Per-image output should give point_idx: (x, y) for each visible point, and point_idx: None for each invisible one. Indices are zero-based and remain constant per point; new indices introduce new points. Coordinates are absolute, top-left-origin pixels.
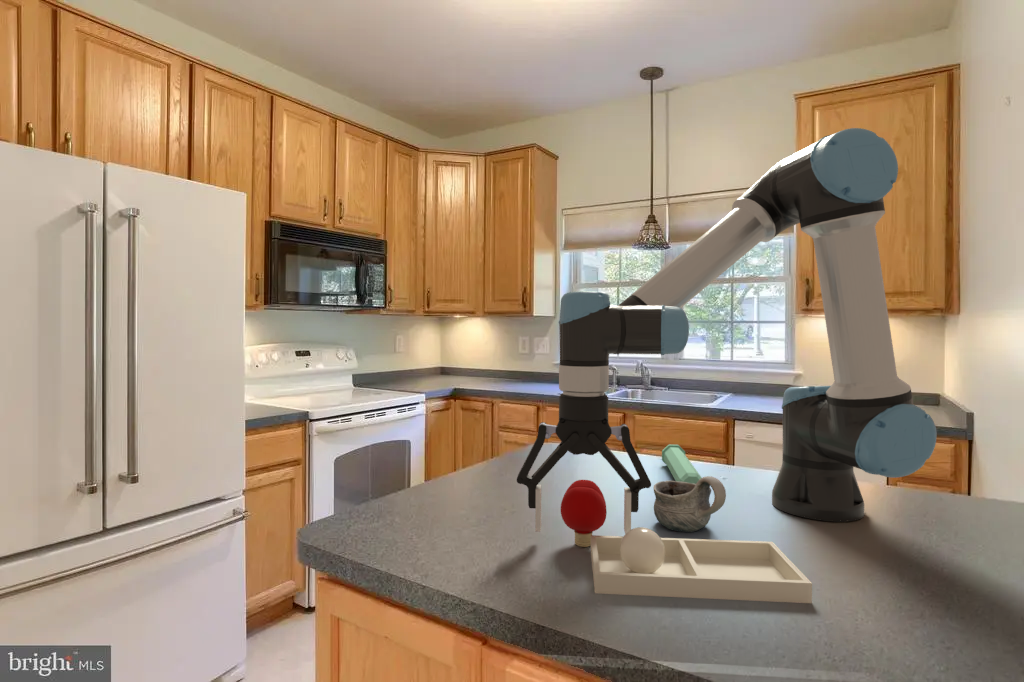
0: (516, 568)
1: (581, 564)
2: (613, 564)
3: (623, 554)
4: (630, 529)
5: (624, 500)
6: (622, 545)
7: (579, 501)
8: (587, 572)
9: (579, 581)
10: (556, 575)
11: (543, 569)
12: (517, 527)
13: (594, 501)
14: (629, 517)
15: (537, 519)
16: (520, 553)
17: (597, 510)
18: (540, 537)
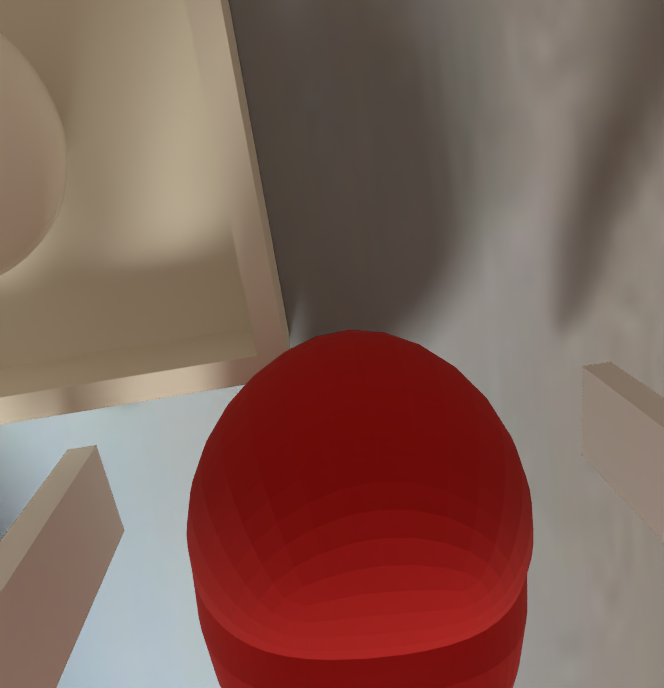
0: (641, 87)
1: (320, 221)
2: (148, 208)
3: (13, 46)
4: (55, 469)
5: (54, 664)
6: (4, 74)
7: (386, 400)
8: (277, 130)
9: (303, 3)
10: (430, 50)
11: (503, 110)
12: (658, 551)
13: (247, 456)
14: (30, 514)
15: (640, 394)
16: (630, 274)
17: (227, 418)
18: (547, 475)
